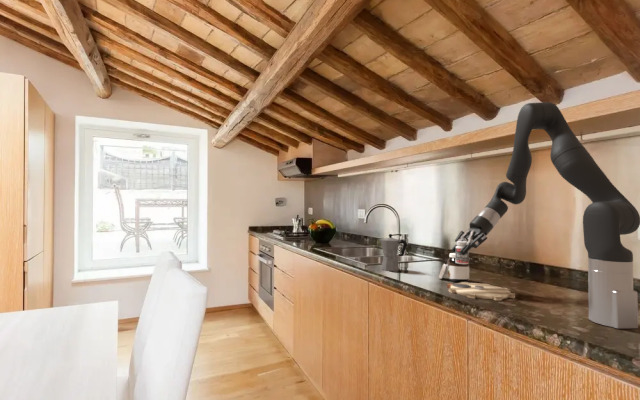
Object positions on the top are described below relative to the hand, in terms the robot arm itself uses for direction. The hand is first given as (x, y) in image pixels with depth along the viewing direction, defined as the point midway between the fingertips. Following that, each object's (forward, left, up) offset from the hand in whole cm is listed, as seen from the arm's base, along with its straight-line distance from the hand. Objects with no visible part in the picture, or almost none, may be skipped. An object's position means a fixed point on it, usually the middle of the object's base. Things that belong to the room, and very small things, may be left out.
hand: (457, 252), depth 125 cm
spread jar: (+16, -6, -14) cm, 22 cm away
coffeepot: (+41, +13, -14) cm, 45 cm away
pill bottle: (0, -2, -4) cm, 5 cm away
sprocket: (-4, -6, -14) cm, 16 cm away
